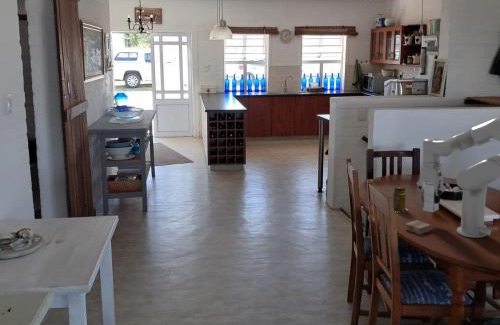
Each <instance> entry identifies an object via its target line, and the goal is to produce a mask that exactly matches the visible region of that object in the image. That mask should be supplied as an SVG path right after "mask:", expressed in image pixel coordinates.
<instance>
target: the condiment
mask: <svg viewBox="0 0 500 325" xmlns="http://www.w3.org/2000/svg"><path fill="white" fill-rule="evenodd" d="M406 195H407V194H406V188H405V187H404V186H395V187H394V192H393V198H392V199H393V203H392V208H394V210H395V212H394V213H396V211H402V212H405V211H404V210H405V209H406V211H409V209H408V208H406ZM397 214H398V212H397Z"/></svg>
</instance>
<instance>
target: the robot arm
mask: <svg viewBox="0 0 500 325" xmlns="http://www.w3.org/2000/svg"><path fill="white" fill-rule="evenodd" d="M494 141H499V142H500V116H498V117H495V118H493V119H491V120H488V121H485V122H483V123H480V124H478V125H476V126H473V127H471V128H470V129H468V130H466V131H464V132H462V133H459V134H456V135H454V136H451V137H447V138H446V139H442V140H439V139H438V138H436V137H431V138H429V137H428V138H424V139H423V141H422V166H421V170H420V176H419V180H418V181H417V182H416V185H417V187H418V189H419V190H420V193H421V200H422V199H423V182H424V181H425V182H431V183H432V184H433V185H434V190H435V194H436V195H435V196H434V203H435V204H437V203H439V204H440V201H441V195H442V194H443V193H444V192H445V191H446V190H447V187H446V186H445V185H444V176H443V170H442V168H441V167H442V163H441V157H444V158H446V157H450V156H452V155H454V154H457V153H459V152H461V151H464V150H467V149H470V148H473V147H478V146H479V147H480V146H482V145H485V144H488V143H490V142H494ZM499 179H500V153H499V154H498V153H497V154H496V155H492V156H490V157H487V158H486V159H484V160H481V161H480V162H477V163H476V164H473V165H469V166H468V167H466V168H465V169H463V170H460V172H459V173H458V174H457V177H456V184H457V186H458V188H460V189H461V190H463V191H462V200H461V218H460V219H461V220H460V226H458V227H457V228H456V233H457V234H458V235H461V236H463V237H467V238H473V239H474V238H475V239H478V238H484V237H487V236H491V232H492V230H491V229H489V228H487V225H486V224H485V212H486V211H485V210H486V201H487V199H486V198H487V191H488V190H487V189H488V184H489V185H490V184H491V183H494V182H495V181H497V180H499ZM437 191H438V192H437Z"/></svg>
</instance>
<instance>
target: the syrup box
mask: <svg viewBox="0 0 500 325" xmlns="http://www.w3.org/2000/svg"><path fill="white" fill-rule="evenodd" d="M437 192H438V191H437ZM435 195H436V194H435V190H434V185H433V184H432V183H431V182H425V181H424V182H423V199H422V198H421V201H422V203H421V204H422V207H421V208H422V209H421V210H422V211H423V212H429V213H435V212H436V211H439V209H440V208H439V207H440V202H439V203H437V204H435V203H434V196H435Z"/></svg>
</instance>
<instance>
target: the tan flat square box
mask: <svg viewBox="0 0 500 325" xmlns="http://www.w3.org/2000/svg"><path fill="white" fill-rule="evenodd" d="M404 227H405V229H406V230H405V229H404V230H405V231H407V230H409V231H408V232H410V231H412V232H411V233H413V232H414V233H413V234H416V235H420V236H421V235H422V234H425V233H429V232H431V227H432V224H430V223H427V222H425V221H424V222H423V221H421V220H418V219H416V220H413V221H410V222H406V223H405V226H404Z"/></svg>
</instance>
